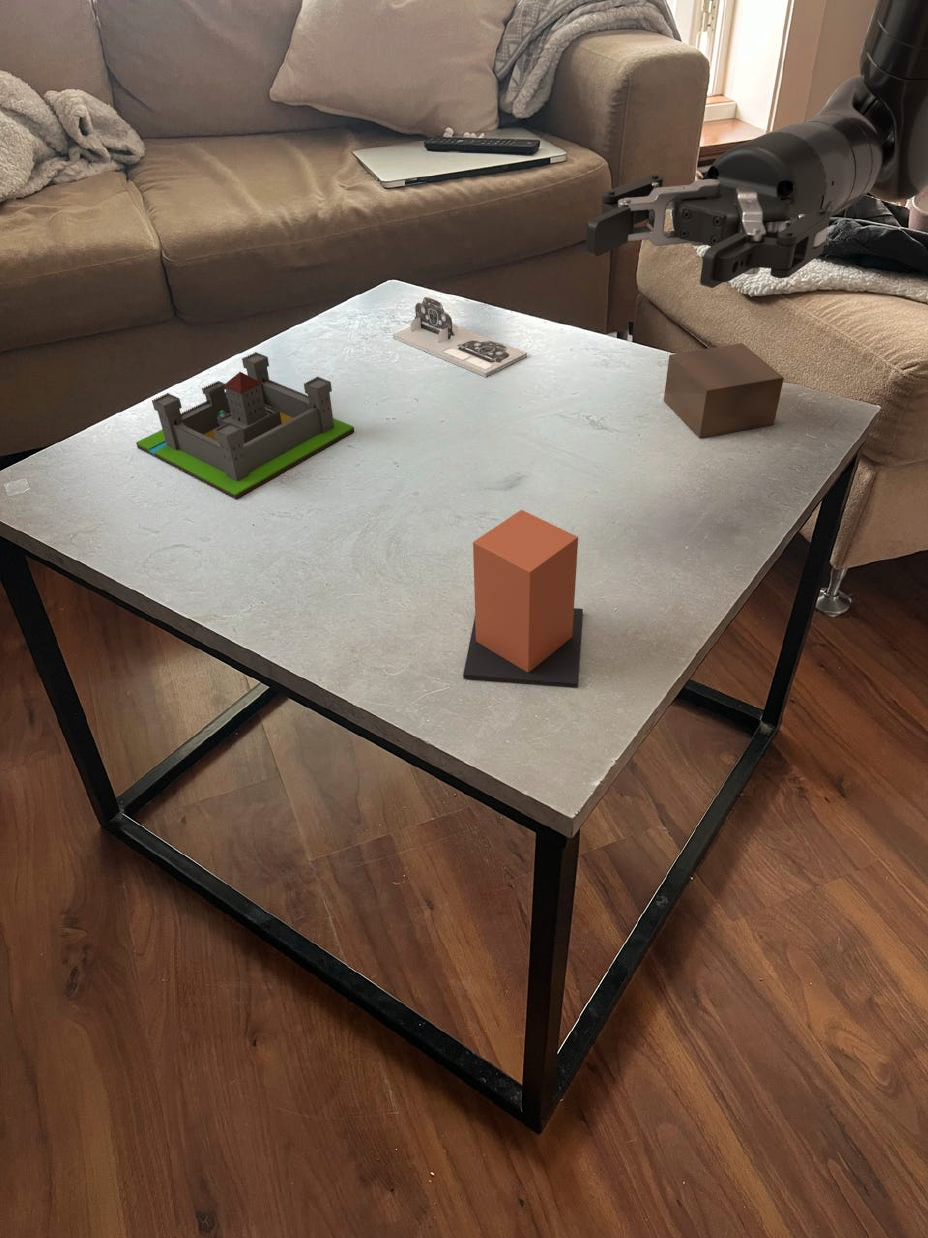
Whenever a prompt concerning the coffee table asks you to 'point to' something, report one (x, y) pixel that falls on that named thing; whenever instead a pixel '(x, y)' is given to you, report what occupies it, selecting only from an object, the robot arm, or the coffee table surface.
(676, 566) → the coffee table surface
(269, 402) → the castle model
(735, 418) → the base block
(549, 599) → the top block
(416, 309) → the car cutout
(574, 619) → the felt mat
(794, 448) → the coffee table surface
